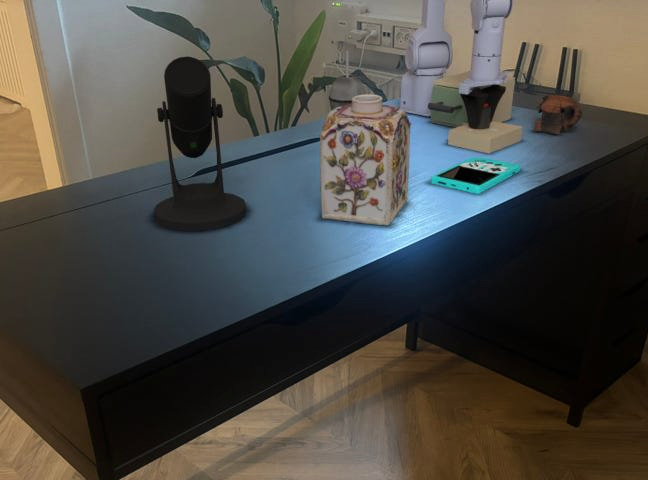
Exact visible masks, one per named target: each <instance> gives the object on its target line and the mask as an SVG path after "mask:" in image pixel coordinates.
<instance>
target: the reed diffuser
mask: <svg viewBox="0 0 648 480" xmlns="http://www.w3.org/2000/svg"><path fill="white" fill-rule="evenodd" d="M349 52H350V51H349V50H346V51H345V74H343V75H341V76H339V77H337V78H336V79H335V80H334V81H333V83H332V84H331V86H330V88H329V96H328V100H329V107H330V111H332V110H333V109H335V108H337V107H341V106H344V105H350V104H352V98H353V97H355V96H358V95H366V94H367V91H366V88H365V85H364V84H363V82H362V81H361V79H360V78H358V77H357V76H355V75H352V74H350V64H349V63H350V62H349V61H350V56H349V55H350V53H349Z"/></svg>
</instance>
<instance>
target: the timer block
mask: <svg viewBox="0 0 648 480" xmlns="http://www.w3.org/2000/svg"><path fill="white" fill-rule="evenodd" d="M463 124H466V125H463V126H460V127H453V128H451V129H448V138H447V139H448V140H447V145H448V146H452V147H457V148H462V149H467V150H470V151H476V152H478V153H479V152H480V153H484V154H487V155H488V154H492V153H494V152H497V151H499V150H502V149H505V148H507V147H509V146H512V145H514V144H517V143H519V142H522V135H523V126H521V125H515V124H510V123H505V122H495V121H492V122H491V123H490V127H489V128H488V129H474V128H471V127H470V126H469V124H467V123H463Z"/></svg>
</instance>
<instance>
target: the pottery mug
mask: <svg viewBox="0 0 648 480" xmlns="http://www.w3.org/2000/svg"><path fill="white" fill-rule="evenodd" d="M536 109H537V110H538V111H537V113H538V114H541V119H539V120H535V121H534V130H533V131H534V132H545V133H548V134H549V133H550V134H553V135H554V134H555V135H560V132H561V129H562V127H563V129H564V131H570V130H572V128H573V127H574V126H575V125H576V124H578V123H579V121H580V120H581V118H582V117H583V109H582V107H581V106H579V105H578V102H577V101H576V99H574V98H572V97H569V96H567V95H560V94H550V95H549V94H548V95H545V96H543V97H542V102H540V103H539V104H538V105H537V106H536Z"/></svg>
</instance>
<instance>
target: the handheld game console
mask: <svg viewBox="0 0 648 480" xmlns="http://www.w3.org/2000/svg"><path fill="white" fill-rule="evenodd" d="M520 171H521V164H518V163H513V162H508V161H503V160H498V159H493V158H486V157H469V158H467V159H466V160H463V161H461V162H459V163H457V164H455V165H453V166H451V167H449V168H447V169H444V170H443V171H440V172H438V173H437V174H436V173H435V174H434V175H432V176H431V177H430V184H432V185H436V186H441V187H445V188H449V189H452V190H453V189H454V190H459V191H463V192H467V193H471V194H477V195H478V194H481V193H483V192H485V191H487V190H489V189H490V188H492V187H495V186H496V185H498V184H499V183H502V182H503V181H505V180H506V179H509V178H511V177H512V176H514V175H516V174H518V173H519V172H520Z"/></svg>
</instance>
